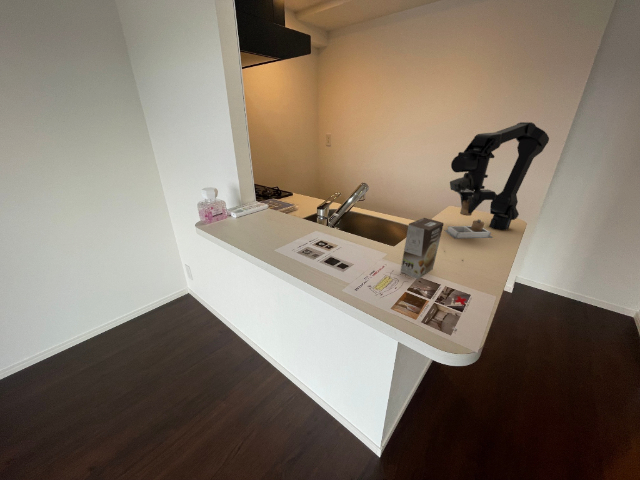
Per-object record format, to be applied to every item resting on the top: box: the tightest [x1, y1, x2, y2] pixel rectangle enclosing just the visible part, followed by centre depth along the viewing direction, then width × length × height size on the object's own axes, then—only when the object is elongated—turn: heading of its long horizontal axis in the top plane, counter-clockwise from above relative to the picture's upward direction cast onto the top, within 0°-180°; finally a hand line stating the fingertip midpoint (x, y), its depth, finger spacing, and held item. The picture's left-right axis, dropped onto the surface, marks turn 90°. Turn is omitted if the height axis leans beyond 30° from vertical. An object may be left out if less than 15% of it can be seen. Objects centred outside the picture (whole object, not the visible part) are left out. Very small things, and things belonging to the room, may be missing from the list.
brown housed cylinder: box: [471, 219, 485, 232], centre depth 104 cm, size 4×4×6 cm
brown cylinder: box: [459, 199, 473, 217], centre depth 100 cm, size 4×4×6 cm
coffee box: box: [400, 217, 444, 280], centre depth 77 cm, size 9×6×16 cm
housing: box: [443, 225, 494, 240], centre depth 105 cm, size 16×8×3 cm, turn 94°
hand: (466, 211), depth 101 cm, fingers closed on brown cylinder, 4 cm apart
